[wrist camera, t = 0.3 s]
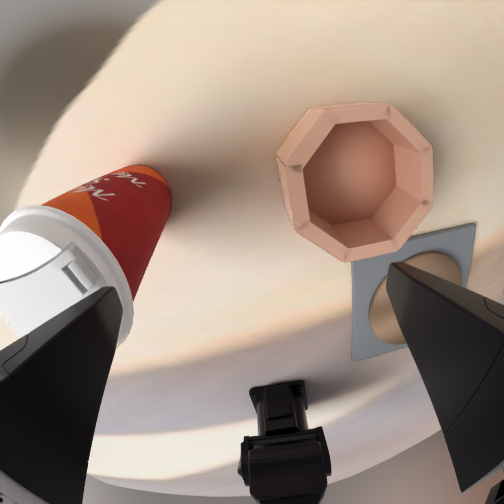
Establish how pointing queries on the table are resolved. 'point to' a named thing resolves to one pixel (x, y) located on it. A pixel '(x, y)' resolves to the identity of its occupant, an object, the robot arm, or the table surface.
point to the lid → (381, 306)
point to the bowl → (356, 178)
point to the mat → (376, 268)
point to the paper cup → (81, 247)
